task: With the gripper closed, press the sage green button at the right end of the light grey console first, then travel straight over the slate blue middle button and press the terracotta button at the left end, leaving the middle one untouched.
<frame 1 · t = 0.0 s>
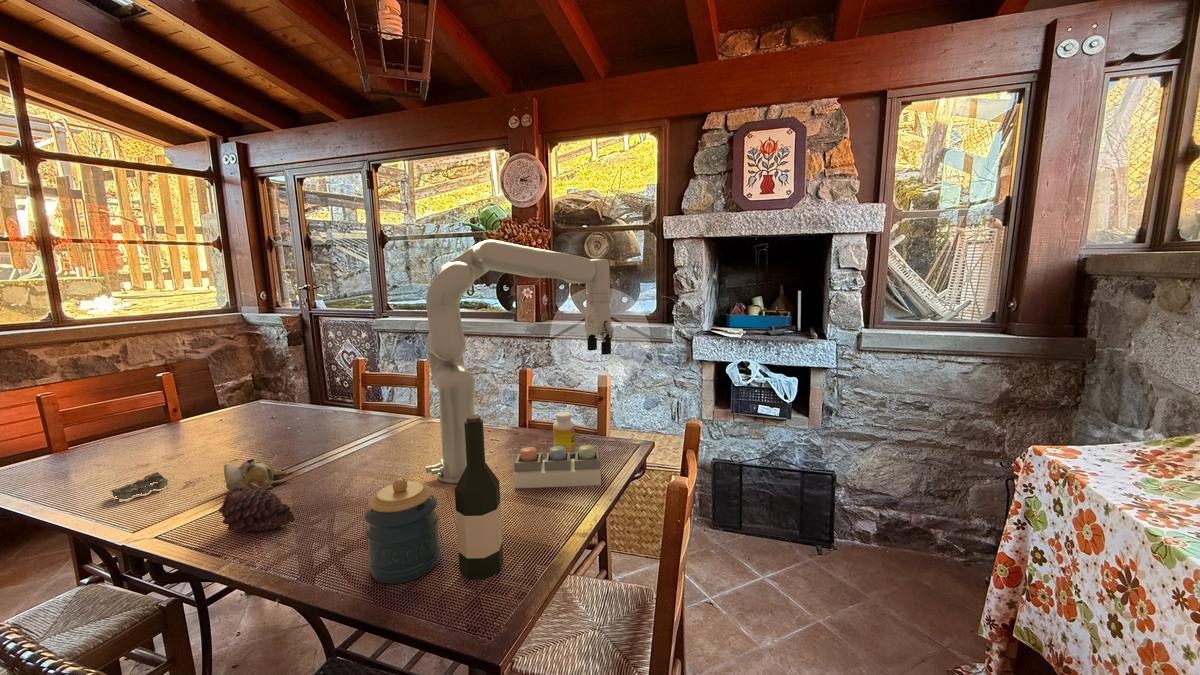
hand: (599, 352, 150), 31 cm above the table, fingers open, 9 cm apart
slate button: (557, 454, 129), point 7 cm above the table, slide at 0.0 cm
terracotta button: (528, 455, 128), point 7 cm above the table, slide at 0.0 cm
canister: (406, 565, 93), on the table
wine bottle: (482, 567, 91), on the table
sage button: (587, 453, 129), point 7 cm above the table, slide at 0.0 cm
ceramic sculpture: (256, 489, 128), on the table
supplement bottle: (564, 454, 149), on the table
pine cone: (256, 529, 107), on the table
console: (558, 479, 130), on the table
tree bark piece: (142, 494, 126), on the table
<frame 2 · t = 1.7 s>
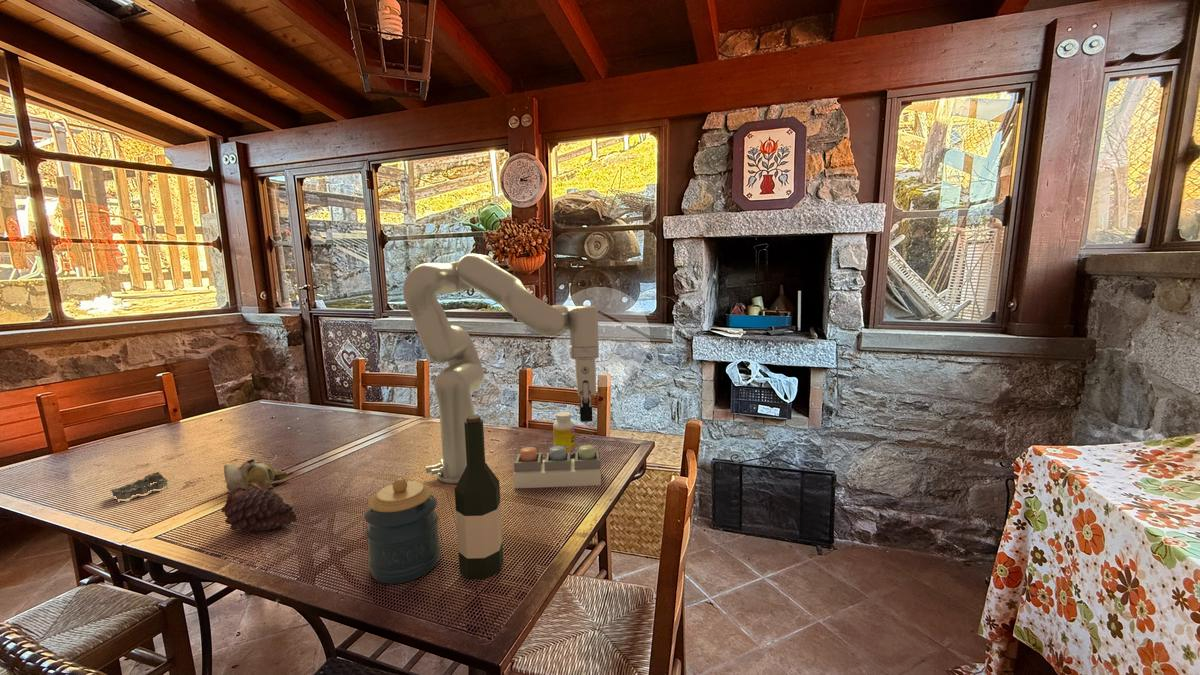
hand: (586, 416, 128), 18 cm above the table, fingers open, 6 cm apart
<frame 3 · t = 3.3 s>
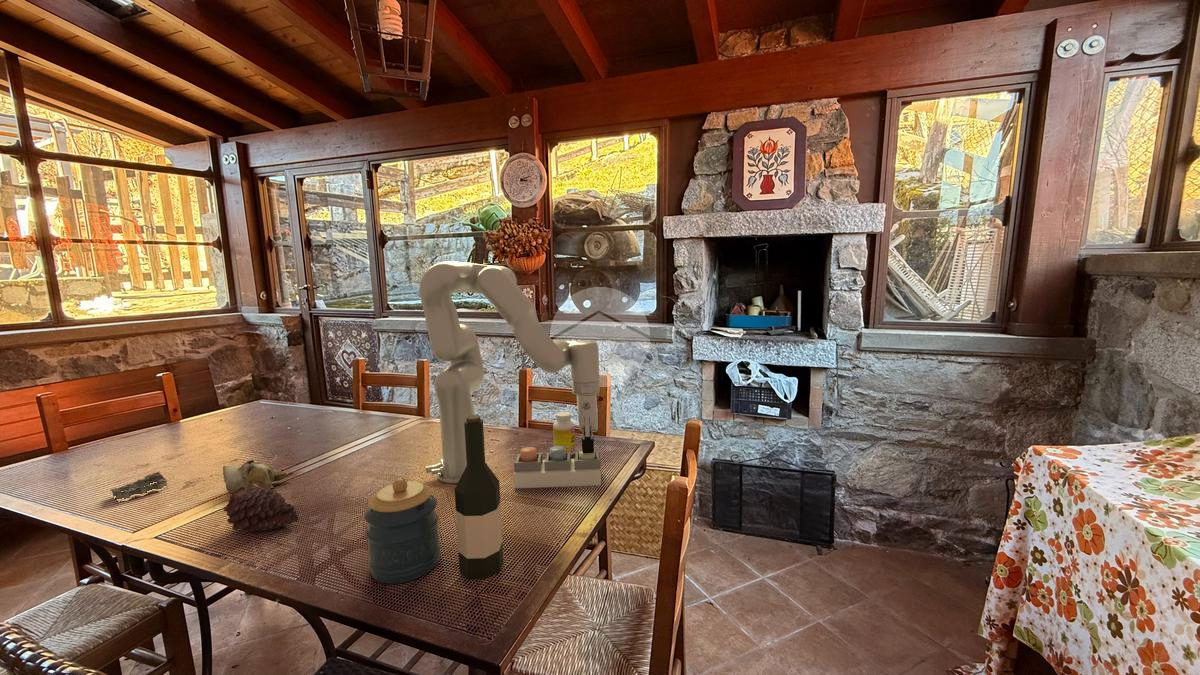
hand: (588, 451, 129), 8 cm above the table, fingers closed
sage button: (587, 457, 129), point 6 cm above the table, slide at 1.2 cm, touching gripper
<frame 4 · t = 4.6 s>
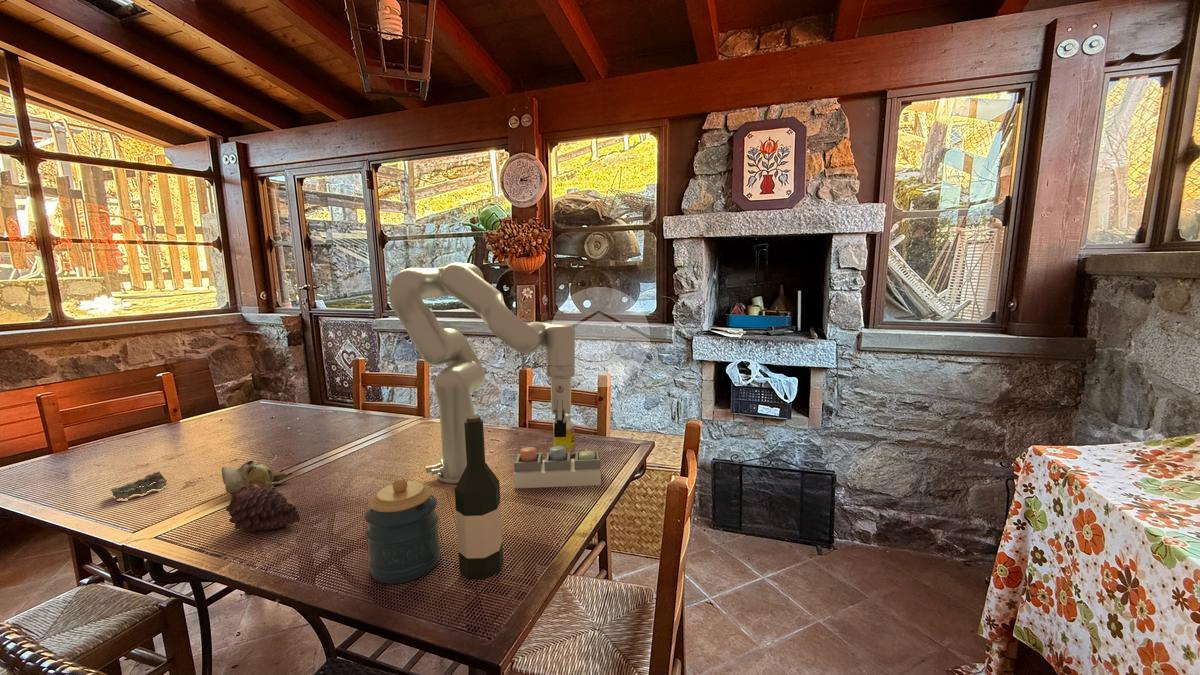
hand: (560, 436, 128), 12 cm above the table, fingers closed
sage button: (587, 458, 129), point 6 cm above the table, slide at 1.7 cm
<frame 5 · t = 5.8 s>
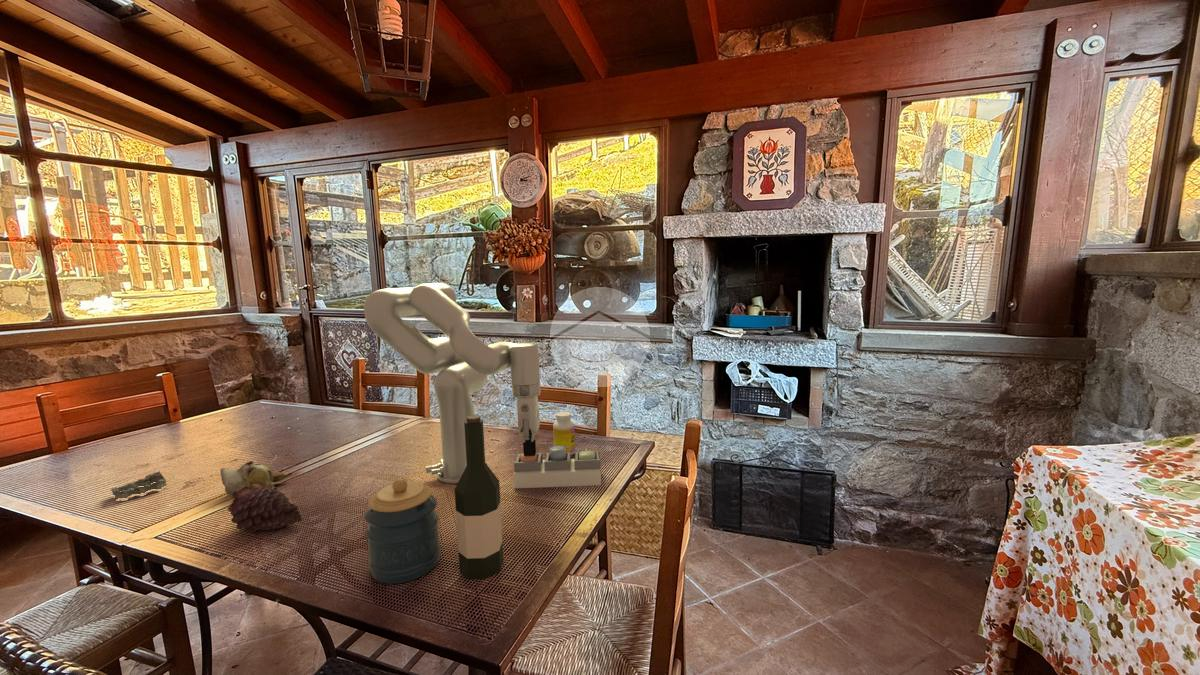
hand: (529, 454, 128), 7 cm above the table, fingers closed
terracotta button: (528, 460, 129), point 6 cm above the table, slide at 1.4 cm, touching gripper
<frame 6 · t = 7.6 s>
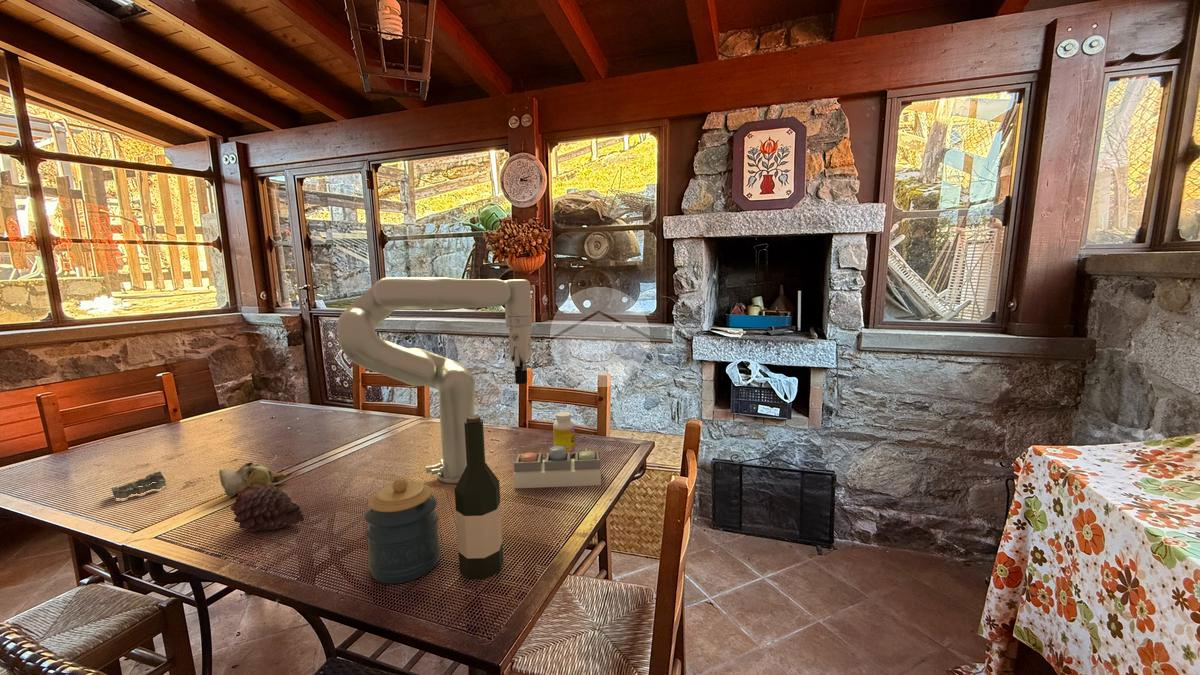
hand: (521, 383, 140), 24 cm above the table, fingers closed
terracotta button: (528, 460, 129), point 6 cm above the table, slide at 1.6 cm
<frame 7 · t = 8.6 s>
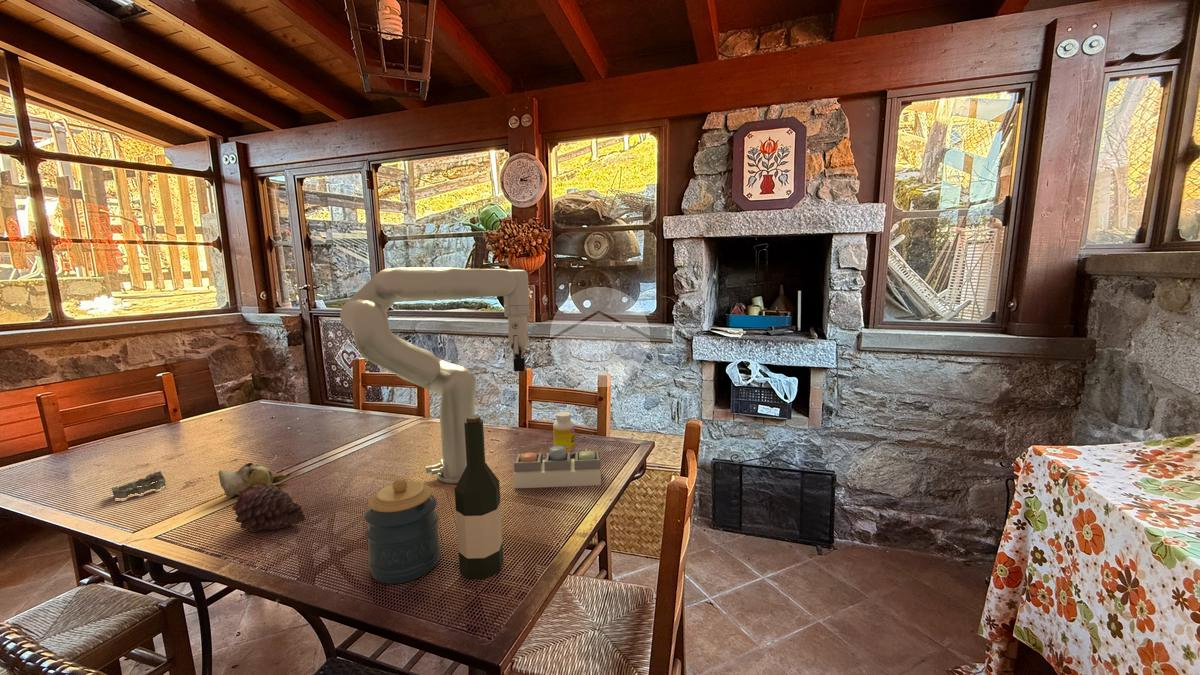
hand: (519, 370, 144), 27 cm above the table, fingers closed
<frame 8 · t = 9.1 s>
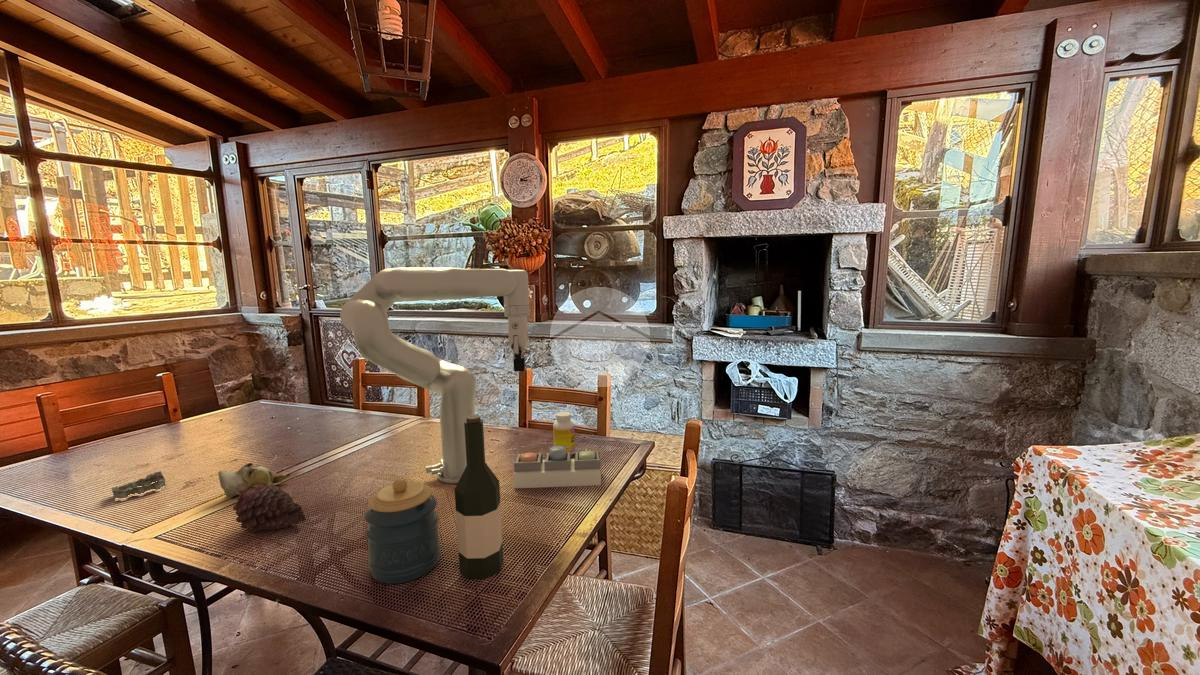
hand: (519, 370, 144), 27 cm above the table, fingers closed
at the end: sage button slide at 1.7 cm; terracotta button slide at 1.6 cm; slate button slide at 0.0 cm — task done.
